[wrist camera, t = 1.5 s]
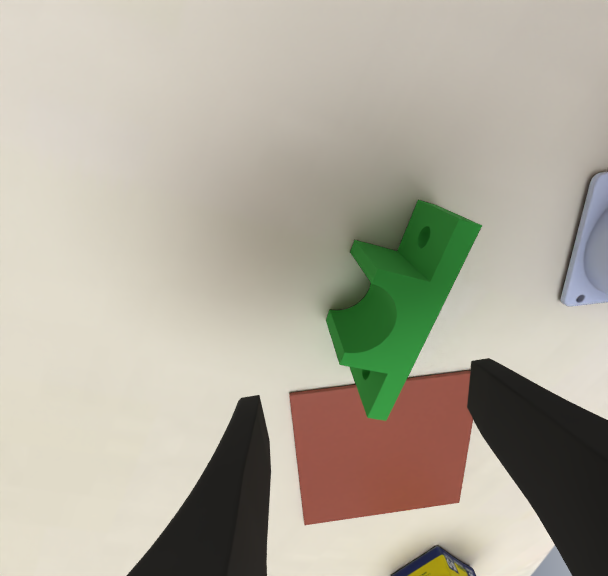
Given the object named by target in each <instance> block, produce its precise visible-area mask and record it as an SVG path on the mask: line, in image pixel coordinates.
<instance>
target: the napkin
mask: <svg viewBox="0 0 608 576" xmlns="http://www.w3.org/2000/svg"><path fill="white" fill-rule="evenodd" d="M470 371H471V370H470ZM470 371H462V372H454V373H445V374H437V375H429V376H421V377H413V378H407V380H406V382H405V384H404V386H403V388H402V390H401V392H400V394H399V396H398V398H397V400H396V402H395V404H394V406H393V408H392V410H391V412H390V414H389V416H388V418H387V420H386V421H383V420H377V419H371V418H367V415H366V412H365V410H364V407H363V404H362V401H361V398H360V395H359V392H358V390H357V387H356V385H349V386H341V387H333V388H325V389H317V390H309V391H301V392H293V393H289V394H290V403H291V412H292V420H293V429H294V438H295V446H296V455H297V464H298V472H299V481H300V490H301V498H302V507H303V516H304V524H305V525H310V524H316V523H323V522H330V521H337V520H344V519H351V518H357V517H364V516H371V515H378V514H385V513H392V512H398V511H405V510H412V509H419V508H426V507H433V506H439V505H446V504H453V503H459V501H460V495H461V489H462V483H463V477H464V471H465V464H466V458H467V452H468V446H469V440H470V434H471V428H472V422H473V418H472V416H471V414H470V412H469V410H468V408H467V402H468V392H469V381H470Z"/></svg>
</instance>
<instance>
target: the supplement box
mask: <svg viewBox="0 0 608 576" xmlns="http://www.w3.org/2000/svg"><path fill="white" fill-rule="evenodd" d="M392 576H476V574H475V572H474V570H473V568H471V567H470V566H468V565H466V564H464V563H462V562H461V561H459V560H457V559H456V558H454V557H453V556H451V555H450V554H448V553H447V552H446V551H445V550H443V549H442V548H440V547H439V546H435V547H434V548H432V549H431V550H429V551H428V552H427V553H425V554H424V555H422V556H420V557H419V558H417V559H416V560H414V561H412V562H411V563H410V564H408V565H406V566H405V567H403V568H402V569H400V570H399V571H397V572H396V573H395V574H393V575H392Z"/></svg>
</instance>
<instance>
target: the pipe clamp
mask: <svg viewBox="0 0 608 576" xmlns="http://www.w3.org/2000/svg"><path fill="white" fill-rule="evenodd" d="M481 227H482V225H480V224H478V223H475V222H473V221H471V220H469V219H466V218H464V217H462V216H460V215H457V214H455V213H453V212H451V211H448V210H446V209H444V208H442V207H439V206H437V205H434V204H431V203H428V202H424V201H421V200H418V201H417V204H416V206H415V209H414V211H413V213H412V216H411V218H410V221H409V223H408V226H407V228H406V231H405V233H404V236H403V238H402V240H401V243H400V245H399V248H398V250H397V251H395V250H391V249H388V248H384V247H380V246H376V245H373V244H369V243H365V242H361V241H358V240H354V243H353V245H352V248H351V251H350V253H351V254H352V256H353V257H354V259H355V260H356V262H357V263H358V264H359V266H360V267H361V269H362V270H363V272H364V273H365V275H366V276H367V278H368V279H369V281H370V282H371V284H370V288H369V290H368V292H367V294H366V295H365V297H364V298H363V299H362V300H361V301H360V302H359V303H358V304H356V305H354V306H353V307H350V308H348V309H344V310H329V313H328V316H327V318H326V322H327V325H328V329H329V332H330V335H331V338H332V341H333V345H334V348H335V351H336V354H337V358H338V361H339V364H340V365H344V366H349V367H350V369H351V372H352V375H353V378H354V381H355V384H356V387H357V390H358V392H359V395H360V398H361V401H362V404H363V407H364V410H365V412H366V415H367V418H371V419H377V420H383V421H386V420H387V418H388V416H389V414H390V412H391V410H392V408H393V406H394V404H395V402H396V400H397V398H398V396H399V394H400V392H401V390H402V388H403V386H404V384H405V382H406V380H407V378H408V376H409V374H410V372H411V370H412V368H413V365H414V363H415V361H416V359H417V357H418V355H419V353H420V351H421V349H422V347H423V345H424V343H425V341H426V339H427V337H428V335H429V333H430V331H431V329H432V327H433V325H434V323H435V321H436V319H437V317H438V315H439V313H440V310H441V308H442V306H443V304H444V302H445V300H446V298H447V296H448V294H449V292H450V290H451V288H452V286H453V284H454V282H455V280H456V278H457V276H458V274H459V272H460V270H461V268H462V266H463V264H464V262H465V260H466V258H467V255H468V253H469V251H470V249H471V247H472V245H473V243H474V241H475V239H476V237H477V235H478V233H479V231H480V229H481Z"/></svg>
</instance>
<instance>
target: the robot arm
mask: <svg viewBox="0 0 608 576" xmlns="http://www.w3.org/2000/svg"><path fill="white" fill-rule="evenodd" d="M578 296H579V297H578ZM577 297H578V298H577ZM561 302H562V303H563V304H565V305H566V306H578V305H587V304H596V303H604V302H608V172H601V173H598V174H596V175H595V176H594V177H593V178H592V180H591V182H590V185H589V189H588V193H587V197H586V201H585V205H584V209H583V213H582V217H581V221H580V225H579V229H578V233H577V236H576V240H575V244H574V248H573V252H572V256H571V260H570V264H569V268H568V272H567V276H566V280H565V284H564V287H563V291H562V295H561ZM467 408H468V410H469V412H470V414H471V416H472V418H473V420H474V422H475V424H476V426H477V427H478V429H479V431H480V433H481V435H482V436H483V438H484V439H485V441H486V442H487V443H488V445H489V446H490V448H491V449H492V451H493V452H494V453H495V455H496V456H497V458H498V459H499V461H500V462H501V463H502V465H503V466H504V468H505V469H506V470H507V472H508V473H509V475H510V476H511V477H512V479H513V480H514V482H515V483H516V484H517V486H518V487H519V489H520V490H521V491H522V493H523V494H524V496H525V497H526V498H527V500H528V501H529V503H530V504H531V506H532V507H533V509H534V510H535V512H536V513H537V515H538V517H539V518H540V520H541V522H542V523H543V525H544V527H545V529H546V530H547V532H548V534H549V535H550V537H551V539H552V540H553V542H554V544H555V546H556V547H557V549H558V551H559V552H560V554H561V556H562V558H563V560H564V561H565V563H566V565H567V567H568V569H569V570H570V572H571V574H572V576H608V420H606V419H604V418H602V417H600V416H598V415H596V414H594V413H592V412H589V411H587V410H585V409H583V408H581V407H579V406H577V405H575V404H573V403H571V402H569V401H567V400H565V399H563V398H561V397H560V396H558V395H556V394H554V393H552V392H550V391H548V390H546V389H545V388H543V387H541V386H539V385H537V384H535V383H534V382H532V381H530V380H528V379H526V378H525V377H523V376H521V375H519V374H517V373H516V372H514V371H512V370H510V369H508V368H507V367H505V366H503V365H501V364H499V363H497V362H495V361H493V360H491V359H489V358H488V359H481V360H475V361H471V371H470V381H469V392H468V402H467ZM270 479H271V462H270V442H269V436H268V432H267V427H266V423H265V418H264V414H263V409H262V405H261V400H260V396H259V395H257V396H250V397H244V398H241V399H240V400H239V401H238V403H237V406H236V409H235V411H234V413H233V416H232V418H231V420H230V422H229V425H228V427H227V429H226V431H225V433H224V435H223V437H222V439H221V441H220V443H219V445H218V447H217V449H216V451H215V453H214V454H213V456H212V458H211V460H210V461H209V463H208V465H207V467H206V468H205V470H204V472H203V474H202V475H201V477H200V479H199V480H198V482H197V484H196V485H195V487H194V488H193V490H192V491H191V493H190V495H189V496H188V498H187V499H186V500H185V502H184V503H183V505H182V506H181V508H180V509H179V511H178V512H177V513H176V515H175V516H174V518H173V519H172V520H171V522H170V523H169V524H168V526H167V527H166V528H165V530H164V531H163V532H162V534H161V535H160V536H159V538H158V539H157V540H156V541H155V543H154V544H153V545H152V546H151V548H150V549H149V550H148V551H147V553H146V554H145V555H144V556H143V557H142V558H141V560H140V561H139V562H138V563H137V564H136V565H135V567H134V568H133V569H132V570H131V571H130V572H129V574H128V575H127V576H267V565H266V560H267V533H268V516H269V498H270Z"/></svg>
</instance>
